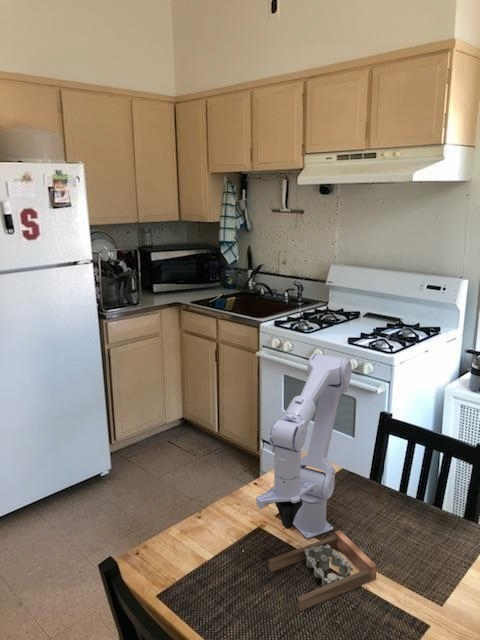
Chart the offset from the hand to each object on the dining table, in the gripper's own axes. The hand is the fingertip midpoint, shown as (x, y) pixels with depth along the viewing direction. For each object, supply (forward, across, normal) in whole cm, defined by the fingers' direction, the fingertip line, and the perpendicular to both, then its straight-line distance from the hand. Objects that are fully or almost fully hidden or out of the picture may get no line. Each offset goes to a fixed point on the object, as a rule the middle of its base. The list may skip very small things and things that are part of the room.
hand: (287, 525), depth 117 cm
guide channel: (+9, +4, -7) cm, 12 cm away
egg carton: (+10, +6, -7) cm, 14 cm away
